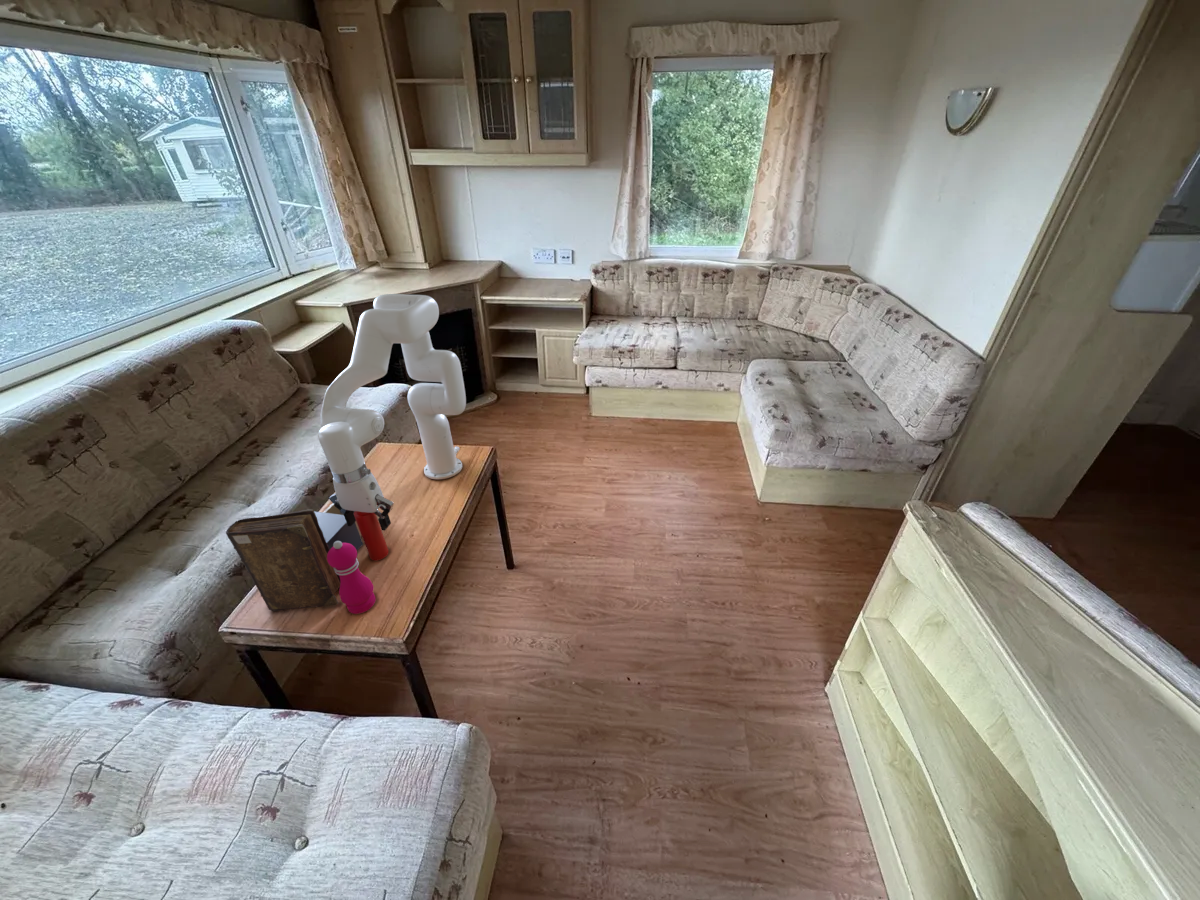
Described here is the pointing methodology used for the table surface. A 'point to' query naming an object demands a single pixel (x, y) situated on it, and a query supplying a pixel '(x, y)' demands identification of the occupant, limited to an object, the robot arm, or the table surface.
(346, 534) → the dark blue angular piece
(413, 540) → the table surface
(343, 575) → the pepper mill
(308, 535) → the book
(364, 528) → the ketchup bottle
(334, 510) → the drawer
